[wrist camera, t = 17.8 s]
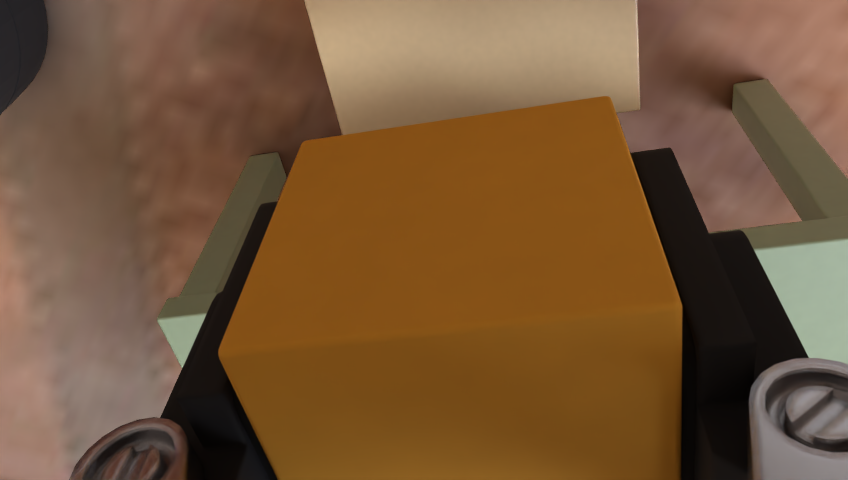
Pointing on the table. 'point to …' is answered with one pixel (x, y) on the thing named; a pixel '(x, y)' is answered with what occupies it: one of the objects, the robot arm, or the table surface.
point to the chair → (471, 57)
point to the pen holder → (20, 46)
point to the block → (464, 307)
